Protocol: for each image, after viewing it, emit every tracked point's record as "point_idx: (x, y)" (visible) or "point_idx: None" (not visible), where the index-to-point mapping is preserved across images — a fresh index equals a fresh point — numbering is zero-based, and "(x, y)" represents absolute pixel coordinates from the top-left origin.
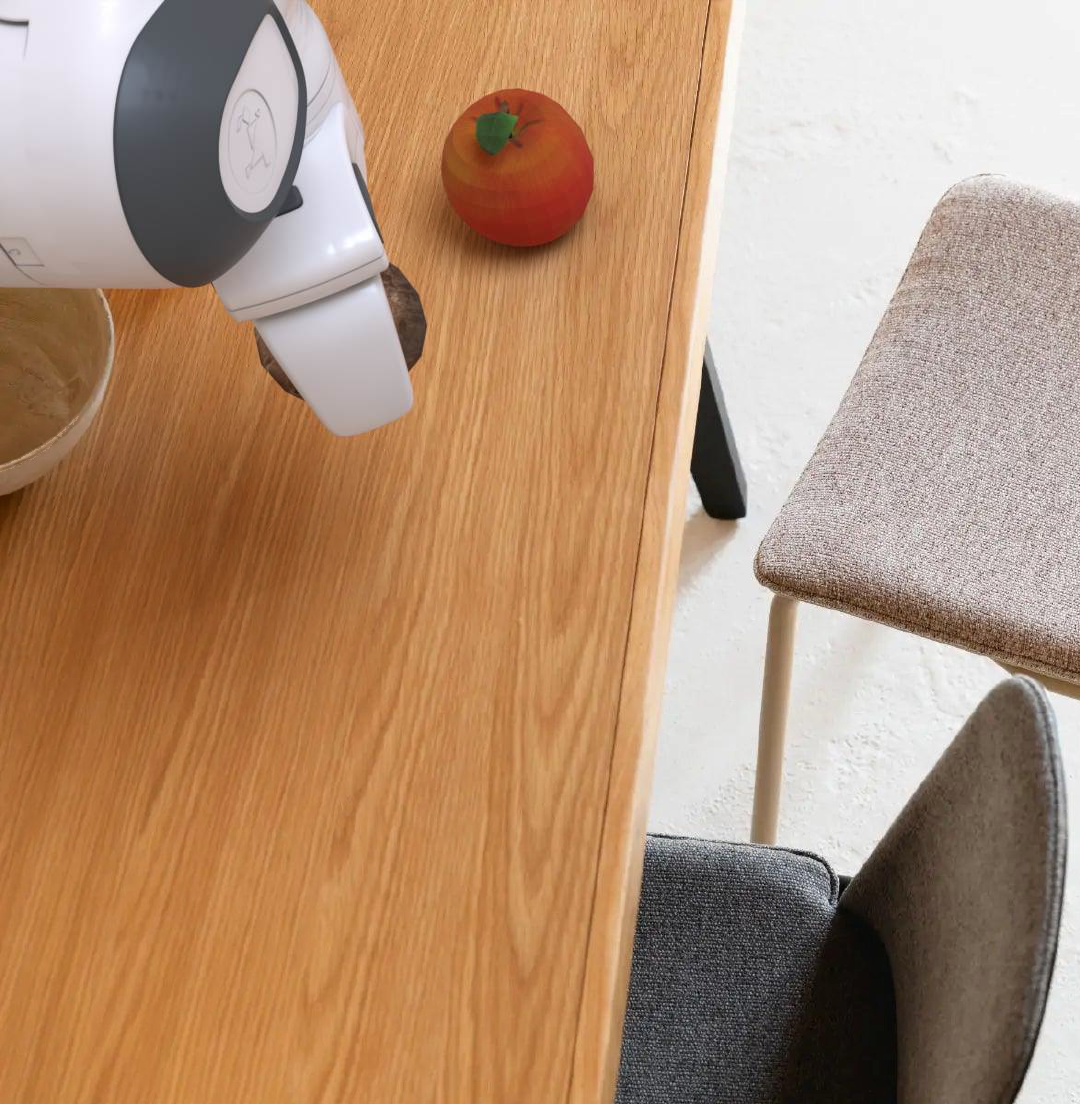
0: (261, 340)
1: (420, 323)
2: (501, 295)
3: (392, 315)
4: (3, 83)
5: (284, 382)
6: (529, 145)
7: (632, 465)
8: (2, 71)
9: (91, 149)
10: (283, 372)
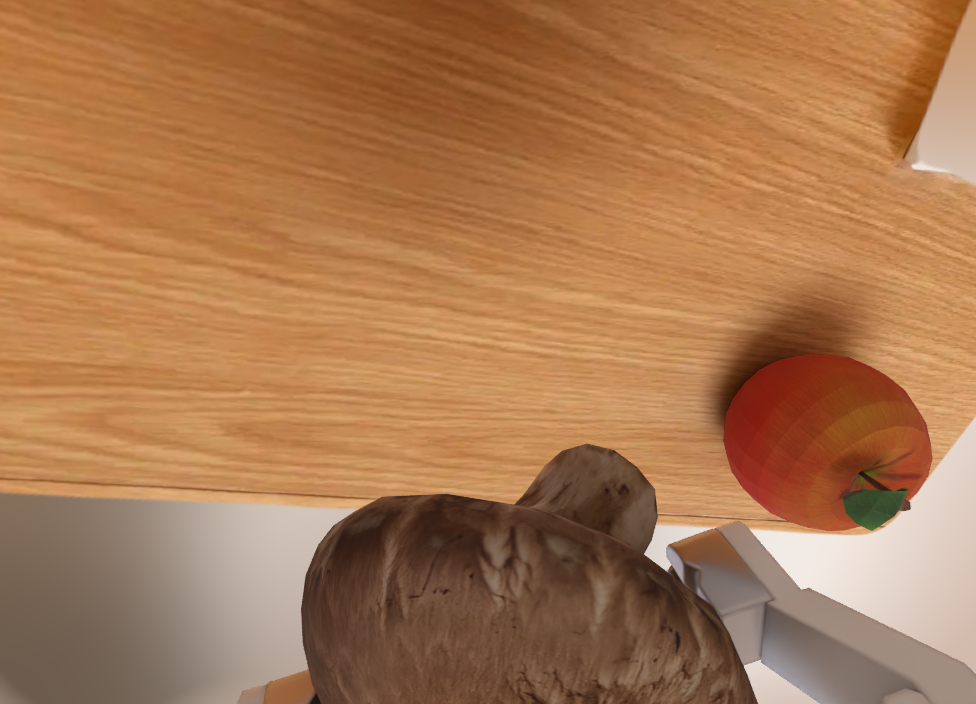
0: (470, 606)
1: None
2: (685, 370)
3: None
4: None
5: (334, 587)
6: (835, 508)
7: (435, 488)
8: None
9: None
10: (349, 619)
